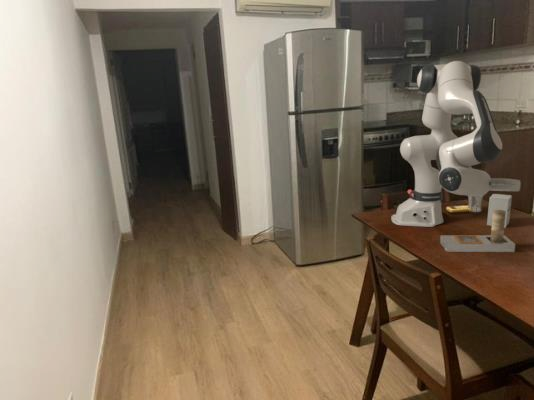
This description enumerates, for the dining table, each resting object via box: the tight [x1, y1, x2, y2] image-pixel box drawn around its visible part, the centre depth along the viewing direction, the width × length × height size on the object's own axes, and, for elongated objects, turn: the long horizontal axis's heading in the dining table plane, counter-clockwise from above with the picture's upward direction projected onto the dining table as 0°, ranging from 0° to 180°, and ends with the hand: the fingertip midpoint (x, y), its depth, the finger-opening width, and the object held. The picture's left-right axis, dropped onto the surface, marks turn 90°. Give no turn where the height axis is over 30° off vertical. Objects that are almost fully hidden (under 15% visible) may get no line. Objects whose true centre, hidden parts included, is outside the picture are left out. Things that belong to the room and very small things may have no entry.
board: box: [439, 234, 516, 253], centre depth 146 cm, size 23×9×3 cm, turn 81°
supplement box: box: [486, 193, 513, 229], centre depth 167 cm, size 7×7×13 cm
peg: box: [490, 210, 506, 243], centre depth 144 cm, size 4×4×14 cm
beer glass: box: [467, 195, 484, 214], centre depth 186 cm, size 7×7×15 cm
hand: (494, 186), depth 135 cm, fingers open, 8 cm apart
